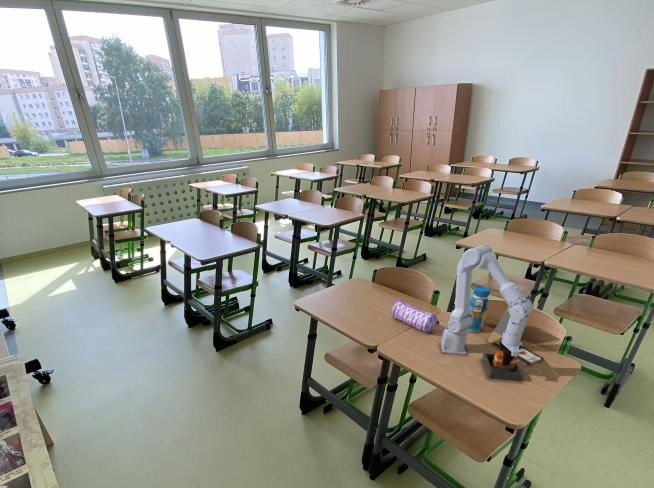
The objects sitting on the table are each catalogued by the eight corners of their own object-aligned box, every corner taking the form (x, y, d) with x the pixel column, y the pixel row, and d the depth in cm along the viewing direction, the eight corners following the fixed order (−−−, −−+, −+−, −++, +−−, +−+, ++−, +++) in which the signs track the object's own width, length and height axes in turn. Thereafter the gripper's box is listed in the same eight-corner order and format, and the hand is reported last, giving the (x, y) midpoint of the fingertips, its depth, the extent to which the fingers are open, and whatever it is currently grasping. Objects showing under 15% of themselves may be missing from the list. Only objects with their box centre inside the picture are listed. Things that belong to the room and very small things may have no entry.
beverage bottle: (459, 326, 186) (468, 286, 175) (471, 322, 190) (481, 283, 179) (472, 334, 180) (483, 293, 169) (485, 330, 183) (496, 289, 173)
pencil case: (438, 330, 182) (441, 311, 177) (426, 336, 177) (430, 317, 172) (399, 314, 196) (402, 296, 191) (388, 319, 191) (390, 301, 186)
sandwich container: (485, 341, 174) (493, 310, 167) (503, 331, 183) (511, 301, 175) (504, 348, 169) (513, 316, 161) (521, 337, 177) (530, 307, 170)
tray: (488, 379, 150) (490, 371, 148) (481, 360, 161) (483, 352, 160) (520, 382, 149) (523, 374, 147) (511, 362, 160) (513, 355, 158)
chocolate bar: (507, 338, 175) (543, 357, 162) (507, 340, 176) (542, 359, 162) (493, 342, 172) (528, 363, 158) (492, 344, 172) (527, 365, 159)
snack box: (494, 366, 153) (498, 355, 150) (492, 362, 156) (496, 350, 153) (513, 368, 152) (517, 356, 149) (511, 363, 155) (515, 352, 152)
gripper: (531, 342, 139) (520, 373, 146) (519, 323, 151) (509, 353, 159) (510, 340, 140) (500, 372, 147) (500, 321, 152) (491, 351, 159)
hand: (504, 362), depth 153 cm, fingers closed on snack box, 3 cm apart
